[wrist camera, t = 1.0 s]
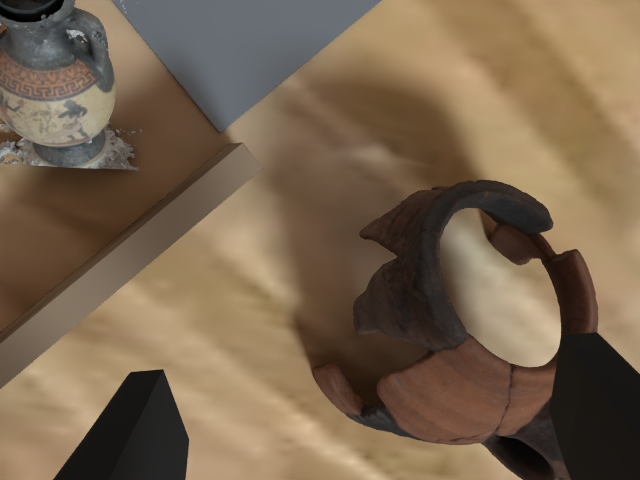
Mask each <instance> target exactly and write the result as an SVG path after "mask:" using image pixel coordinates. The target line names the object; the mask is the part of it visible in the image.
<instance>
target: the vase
mask: <svg viewBox="0 0 640 480" xmlns="http://www.w3.org/2000/svg"><path fill="white" fill-rule="evenodd" d="M121 1H122V0H121ZM74 4H75V0H0V25H1V23H2V24H5V25H6V26H7V29H6V30H4V31H3V32H2V33H1V34H0V117H1V118H2V120H3V121H4V122H5V123H6V124H7V125H4V124H3V123H0V125H1V126H2V127H3V128H4V129H5V131H6V132H7V129H6V128H7V127H8V126H9V127H8V128H10V129H12V130H13V131H12V132H14V131H15V132H16V133H17V134H18V135H20V136H22V137H23V138H22V139H21V140H20V141H19V140H18V141H17V142H18V143H17V144H16V145H17V146H20V148H19V149H17V148H16V147H15V145H14V144H15V141H12V142H9V140H8V139H7V142H2V143H1V144H0V146H1V148H0V157H2V156H3V155H5V154H7V153H11V154H14V155H16V156H17V157H19V158H20V159H21V161H22V164H25V165H38V166H53V167H68V168H91V169H127V170H134V171H139V170H138V168H139V167H136V168H135V167H132V166H130V163H129V161H128V160H127V158H128V157H132V158H135V157H134V156H135V154H133V153H130V152H132V151H133V148H131V146H130V143H129V144H127V143H124V141H123V140H122V139H124V137H122V139H121V138H120V137H116V136H115V135H114V134H115V133H113V131H112V130H109V129H110V128H107V127H108V124H112V123H109V122H110V121H108V120H109V118H110V116H111V114H112V111H113V108H114V103H115V96H116V83H115V76H114V71H113V67H112V64H111V61H110V59H109V55H108V50H109V49H108V43H107V36H106V32H105V29H104V27H103V25H102V23H101V22H100V20H99V19H98V18H97V17H95V16H94V15H92V14H91V13H89V12H86V11H84V10H81V9H78V8H75V7H74ZM136 4H137V3H136ZM122 6H123V7H124V5H122ZM124 9H125V8H124ZM125 13H126V12H125ZM116 37H117V36H116ZM109 51H110V50H109ZM4 126H5V127H4ZM112 126H113V125H112ZM112 129H113V128H112ZM131 130H132V131H127V133H126V134H128V136H129V137H130V136H132V134H134V133H135V132H136V131H133V129H131ZM120 131H122V130H121V129H120V130H117V129H116V132H117V133H118V134H119V135H120ZM140 131H141V132H142V129H140ZM123 132H124V133H125V131H124V130H123ZM128 132H131V134H129V133H128ZM15 136H17V135H15ZM138 138H139V136H138ZM139 139H141V138H139ZM135 146H137V145H135ZM137 150H140V149H137ZM7 157H8V156H7ZM4 159H5V158H4V157H2V158H1V159H0V163H1V164H7V162H6V163H5V162H3V161H4ZM9 164H18V161H17V160H15V159H12V160H11V161H9Z"/></svg>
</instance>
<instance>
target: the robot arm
mask: <svg viewBox="0 0 640 480" xmlns="http://www.w3.org/2000/svg"><path fill="white" fill-rule="evenodd" d="M549 412H550V416H551V419H552V423H553V426H554V430H555V433H556V437H557V440H558V444H559V447H560V450H561V454H562V457H563V460H564V463H565V466H566V469H567V471H568V474H569V476H570V478H571V480H640V374H639V373H638V372H637V371H636V370H635V369H634V368H633V367H632V366H631V365H630V364H629V363H628V362H627V361H626V360H625V359H624V358H623V357H622V356H621V355H620V354H619V353H618V352H617V351H616V350H615V349H614V348H613V347H612V346H611V345H610V344H609V343H608V342H607V341H606V340H604V339H603V338H602V337H601V336H600V335H599V334H598V333H597V332H593V333H581V334H570V335H561V340H560V346H559V353H558V359H557V365H556V371H555V378H554V384H553V390H552V396H551V402H550V409H549ZM188 447H189V438H188V435H187V432H186V430H185V427H184V424H183V422H182V419H181V416H180V414H179V411H178V408H177V405H176V403H175V400H174V397H173V395H172V392H171V389H170V386H169V384H168V381H167V378H166V376H165V373H164V370H163V369H162V370H150V371H139V372H131V373H130V374H129V375H128V376H127V377H126V379H125V380H124V382H123V383H122V384H121V386H120V387H119V389H118V390H117V392H116V393H115V394H114V396H113V397H112V399H111V400H110V402H109V403H108V405H107V406H106V407H105V409H104V410H103V412H102V413H101V415H100V416H99V417H98V419H97V420H96V422H95V423H94V425H93V426H92V427H91V429H90V430H89V432H88V433H87V434H86V436H85V437H84V439H83V440H82V441H81V443H80V444H79V445H78V447H77V448H76V449H75V451H74V452H73V453H72V455H71V456H70V458H69V459H68V460H67V462H66V463H65V464H64V466H63V467H62V468H61V470H60V471H59V472H58V474H57V475H56V476H55V478H54V479H53V480H185V478H186V469H187V458H188Z"/></svg>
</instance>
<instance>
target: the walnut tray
mask: <svg viewBox="0 0 640 480" xmlns="http://www.w3.org/2000/svg"><path fill="white" fill-rule="evenodd" d="M261 169H263V167H262V166H261V164H260V163H259V162H258V161H257V159H256V158H255V157H254V156H253V154H252V153H251V152H250V151H249V150H248V148H247V147H246V146H245V145H244V143H235V144H228V145H227V146H226V147H225V148H224V149H222V150H221V151H220V152H219V153H218V154H216V155H215V156H214V157H213V158H211V159H210V160H209V161H208V162H207V163H205V164H204V165H203V166H202V167H201V168H199V169H198V170H197V171H196V172H195V173H193V174H192V175H191V176H190V177H188V178H187V179H186V180H185V181H184V182H182V183H181V184H180V185H179V186H178V187H176V188H175V189H174V190H173V191H171V192H170V193H169V194H168V195H167V196H165V197H164V198H163V199H162V200H161V201H159V202H158V203H157V204H156V205H155V206H153V207H152V208H151V209H150V210H148V211H147V212H146V213H145V214H144V215H142V216H141V217H140V218H139V219H138V220H136V221H135V222H134V223H133V224H132V225H130V226H129V227H128V228H127V229H125V230H124V231H123V232H122V233H121V234H119V235H118V236H117V237H116V238H115V239H113V240H112V241H111V242H110V243H109V244H107V245H106V246H105V247H104V248H102V249H101V250H100V251H99V252H98V253H96V254H95V255H94V256H93V257H92V258H90V259H89V260H88V261H87V262H86V263H84V264H83V265H82V266H81V267H79V268H78V269H77V270H76V271H75V272H73V273H72V274H71V275H70V276H69V277H67V278H66V279H65V280H64V281H63V282H61V283H60V284H59V285H58V286H56V287H55V288H54V289H53V290H52V291H50V292H49V293H48V294H47V295H46V296H44V297H43V298H42V299H41V300H40V301H38V302H37V303H36V304H35V305H33V306H32V307H31V308H30V309H29V310H27V311H26V312H25V313H24V314H23V315H21V316H20V317H19V318H18V319H16V320H15V321H14V322H13V323H12V324H10V325H9V326H8V327H7V328H6V329H4V330H3V331H2V332H1V333H0V389H1V388H2V387H3V386H4V385H6V384H7V383H8V382H9V381H10V380H12V379H13V378H14V377H15V376H16V375H18V374H19V373H20V372H21V371H22V370H23V369H25V368H26V367H27V366H28V365H29V364H31V363H32V362H33V361H34V360H35V359H37V358H38V357H39V356H40V355H41V354H42V353H44V352H45V351H46V350H47V349H48V348H50V347H51V346H52V345H53V344H54V343H56V342H57V341H58V340H59V339H60V338H62V337H63V336H64V335H65V334H66V333H67V332H69V331H70V330H71V329H72V328H73V327H75V326H76V325H77V324H78V323H79V322H81V321H82V320H83V319H84V318H85V317H87V316H88V315H89V314H90V313H91V312H92V311H94V310H95V309H96V308H97V307H98V306H100V305H101V304H102V303H103V302H104V301H106V300H107V299H108V298H109V297H110V296H111V295H113V294H114V293H115V292H116V291H117V290H119V289H120V288H121V287H122V286H123V285H125V284H126V283H127V282H128V281H129V280H131V279H132V278H133V277H134V276H135V275H136V274H138V273H139V272H140V271H141V270H142V269H144V268H145V267H146V266H147V265H148V264H150V263H151V262H152V261H153V260H154V259H155V258H157V257H158V256H159V255H160V254H161V253H163V252H164V251H165V250H166V249H167V248H169V247H170V246H171V245H172V244H173V243H175V242H176V241H177V240H178V239H179V238H180V237H182V236H183V235H184V234H185V233H186V232H188V231H189V230H190V229H191V228H192V227H194V226H195V225H196V224H197V223H198V222H200V221H201V220H202V219H203V218H204V217H205V216H207V215H208V214H209V213H210V212H211V211H213V210H214V209H215V208H216V207H217V206H219V205H220V204H221V203H222V202H223V201H224V200H226V199H227V198H228V197H229V196H230V195H232V194H233V193H234V192H235V191H236V190H238V189H239V188H240V187H241V186H242V185H244V184H245V183H246V182H247V181H248V180H249V179H251V178H252V177H253V176H254V175H255V174H257V173H258V172H259V171H260V170H261Z"/></svg>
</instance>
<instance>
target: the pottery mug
mask: <svg viewBox="0 0 640 480" xmlns="http://www.w3.org/2000/svg"><path fill="white" fill-rule="evenodd" d="M464 208H480V209H482V210H483V211H484V212H485V213H486V214H487V215H489V216H490V217H491V218H492V219H493V220H494V221H495V222H497V223H498V224H497V225H496V227H495V229H494V231H493V234H492V235H491V238H490V243H491V244H492V246H493V247H494V248H495V249H496V250H497V251H499V252H500V253H501V254H502V255H503V256H504V257H506V258H507V259H509V260H510V261H511V262H513V263H514V264H516V265H523V264H527V263H528V262H529V261H530V260H531V259H532V258H540V259H541V261H542V264H543V265H544V267H545V268H546V270H547V272H548V274H549V276H550V279H551V281H552V284H553V286H554V289H555V292H556V295H557V300H558V303H559V306H560V316H561V335H570V334H581V333H593V332H597V327H598V305H597V302H596V297H595V294H596V293H595V290H594V286H593V282H592V278H591V276H590V273H589V270H588V267H587V265H586V263H585V261H584V259H583V257H582V255H581V254H580V252H579V251H578V250H577V249H573V250H569V251H566V252H563V253H562V254H559V255H558V254H555V252H554V251H553V249H552V248H551V246H550V245H549V243H548V242H547V241H546V239H545V238H544V237H543V236H542V235H541V234H540V233H541V232H545V231H548V230H550V229H551V228H552V227H553V221H552V219H551V217H550V214H549V211H548V209H547V208H546V207H545V206H544V205H543V204H542V203H540V202H538V201H537V200H536V199H535V198H533V197H532V196H530V195H529V194H527V193H524V192H522V191H520V190H519V189H517V188H515V187H513V186H511V185H507V184H505V183H502V182H498V181H491V180H478V181H476V182H474V181H467V182H461V183H457V184H455V185H454V186H452V187H442V186H441V187H434V188H432V189H431V190H421V191H417V192H416V193H414V194H412V195H410V196H409V197H408V198H407V199H405V200H404V201H402V202H401V204H400V205H398V206H397V207H395V208H394V209H392V210H391V211H389V212H388V213H386V214H385V215H384V216H382V217H381V218H379V219H376V220H374V221H373V222H372V223H370V224H369V225H368V226H366V227H365V228H364V229H363V230H361V231H360V233H359V234H360V237H361V238H363V239H369V240H373V241H376V242H378V243H379V244H381V245H382V246H384V247H385V248H387V249H388V250H390V251H391V252H393V253H395V254H396V255H398V257H397V258H396V259H394V260H392V261H390V262H388V263H386V264H384V265H382V266H381V267H380V269H379V270H378V271H377V272H376V273H375V274H374V275H373V277H372V278H371V280H370V282H369V284H368V287H367V289H366V291H365V292H364V293H363V294H362V295H360V296H359V297H358V298H357V299H356V301H355V303H354V306H353V315H354V327H355V329H356V331H357V333H358V334H360V335H365V334H371V333H376V332H379V331H381V332H383V333H384V334H386V335H388V336H390V337H393V338H398V339H403V340H406V341H409V342H411V343H414V344H416V345H419V346H422V347H424V348H426V349H428V350H429V352H428V353H427V354H426V355H424V356H423V357H422V358H420V359H419V360H417V361H415V362H414V363H412V364H410V365H408V366H406V367H403V368H401V369H397V370H393V371H389V372H387V373H386V374H384V375H383V376H382V377H381V380H380V381H379V382H378V384H377V394H378V396H379V397H380V399H381V400H382V401H383V402H382V403H380V404H379V405H377V406H375V407H374V406H370V405H366V404H365V403H364V402H363V400H362V399H361V398H360V397H359V395H358V394H357V393H356V392H355V390H354V389H353V388H352V386H351V385H350V384H349V382H348V380H347V379H346V377H345V376H344V374H343V373H342V371H341V369H340V368H339V366H338V365H337V364H335V363H330V364H328V365H326V366H323V367H316V368H315V369H314V370H313V375H314V378H315V380H316V381H317V383H318V385H319V387H320V389H321V390H322V391H323V393H324V394H325V395H326V397H327V398H328V399H329V400H330V401H331V402H332V403H333V404H334V405H335V406H336V407H337V408H338V409H339V410H340V411H341V412H343V413H344V414H346V416H347V417H349V418H350V419H352V420H354V421H356V422H358V423H360V424H363V425H365V426H368V427H371V428H373V429H376V430H382V431H387V432H392V433H394V434H397V435H399V436H404V437H410V438H413V439H417V440H421V441H426V442H432V443H439V444H448V445H470V444H474V443H481V444H482V445H484V446H485V447H486V448H487V449H488V450H489V451H490V452H491V454H492V455H493V456H495V457H496V458H497V459H498V460H499V461H500V462H501V463H502V464H503V465H504V466H505V467H506V468H508V469H509V470H510V471H511V472H513V473H514V474H516V475H517V476H518V477H520V478H521V479H523V480H571V478H570V476H569V474H568V471H567V469H566V466H565V463H564V460H563V457H562V454H561V450H560V447H559V444H558V440H557V437H556V433H555V430H554V426H553V423H552V419H551V416H550V412H549V409H550V402H551V396H552V390H553V384H554V378H555V371H556V365H557V359H558V353H559V349H558V351H557V353H556V354H555V356H554V357H553V358H552V359H551V360H550V361H549V362H548V363H547V364H545V365H543V366H539V367H530V368H529V367H522V366H518V365H515V364H511V363H508V362H507V361H505V360H503V359H501V358H499V357H497V356H496V355H494V354H493V353H491V352H490V351H489V350H487V349H486V348H485V347H484V346H483V345H482V344H480V343H479V342H478V341H477V340H476V339H475V338H474V337H473V336H471V335H470V334H468V333H467V332H466V330H465V327H464V326H463V324H462V322H461V321H460V319H459V318H458V316H457V314H456V313H455V311H454V309H453V307H452V305H451V303H450V302H449V299H448V296H447V294H446V291H445V287H444V283H443V279H442V274H441V270H440V262H439V260H440V259H439V250H440V238H441V236H442V233H443V230H444V228H445V226H446V224H447V223H448V221H449V220H450V218H451V216H452V215H453V214H454V213H456V212H457V211H458V210H461V209H464Z"/></svg>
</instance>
